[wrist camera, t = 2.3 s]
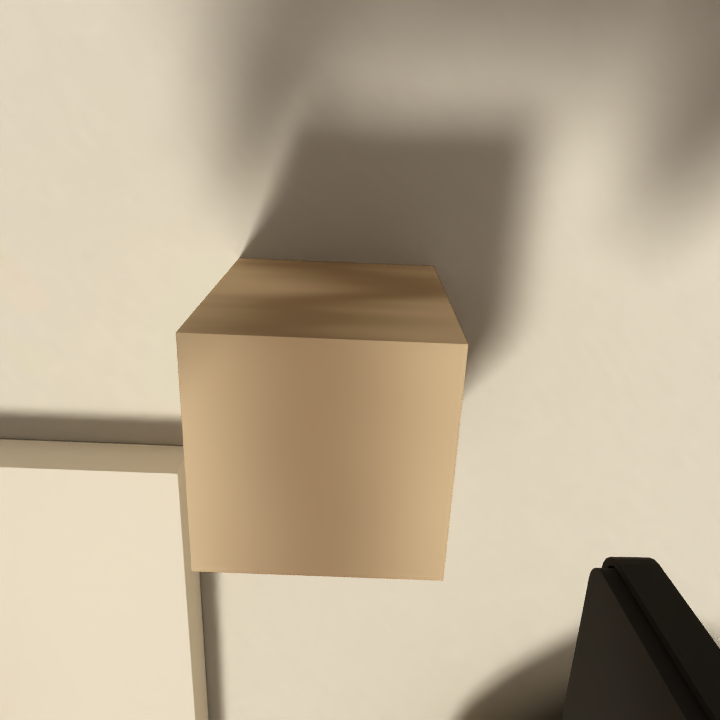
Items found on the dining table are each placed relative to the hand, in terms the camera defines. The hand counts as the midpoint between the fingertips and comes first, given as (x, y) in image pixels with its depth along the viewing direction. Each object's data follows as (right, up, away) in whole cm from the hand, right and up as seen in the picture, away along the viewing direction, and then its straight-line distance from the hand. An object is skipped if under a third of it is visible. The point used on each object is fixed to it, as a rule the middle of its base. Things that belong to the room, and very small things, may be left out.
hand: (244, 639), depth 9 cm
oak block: (+1, +4, +9) cm, 10 cm away
